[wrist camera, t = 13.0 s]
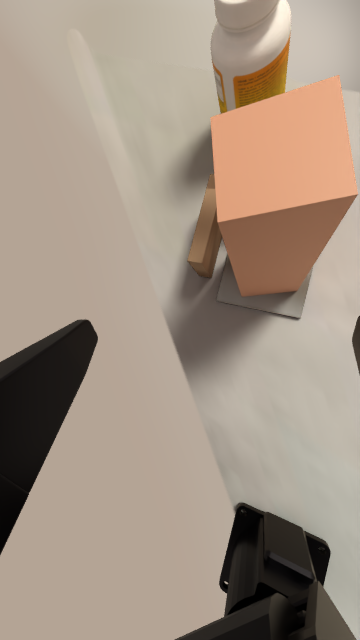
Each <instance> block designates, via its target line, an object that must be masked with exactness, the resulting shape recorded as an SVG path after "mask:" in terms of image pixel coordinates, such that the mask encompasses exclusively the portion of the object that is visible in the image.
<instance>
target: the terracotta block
mask: <svg viewBox="0 0 360 640" xmlns="http://www.w3.org/2000/svg"><path fill="white" fill-rule="evenodd" d="M211 132H212V146H213V161H214V176H215V190H216V205H217V220H218V225H219V228H220V231H221V234H222V237H223V240H224V244H225V247H226V250H227V253H228V256H229V259H230V262H231V265H232V268H233V271H234V275H235V278H236V281H237V284H238V287H239V290H240V293H241V296H242V297H246V296H255V295H265V294H274V293H283V292H292V291H298V289H299V287H300V286H301V284H302V283H303V281H304V279H305V278H306V276H307V275H308V273H309V271H310V270H311V268H312V267H313V265H314V263H315V262H316V260H317V259H318V257H319V255H320V254H321V252H322V251H323V249H324V247H325V246H326V244H327V243H328V241H329V239H330V238H331V236H332V235H333V233H334V232H335V230H336V228H337V227H338V225H339V224H340V222H341V220H342V219H343V217H344V216H345V214H346V212H347V211H348V209H349V208H350V206H351V204H352V203H353V201H354V200H355V198H356V196H357V195H358V192H357V186H356V179H355V173H354V166H353V160H352V154H351V147H350V141H349V135H348V128H347V122H346V115H345V109H344V103H343V96H342V90H341V84H340V78H339V75H337V76H334V77H331V78H328V79H325V80H322V81H319V82H316V83H313V84H310V85H307V86H304V87H301V88H298V89H295V90H292V91H289V92H286V93H283V94H280V95H277V96H274V97H271V98H268V99H264V100H261V101H258V102H255V103H252V104H249V105H246V106H243V107H240V108H237V109H234V110H231V111H228V112H225V113H222V114H219V115H216V116H213V117H211Z"/></svg>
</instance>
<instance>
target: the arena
mask: <svg viewBox="0 0 360 640" xmlns="http://www.w3.org/2000/svg"><path fill="white" fill-rule="evenodd" d="M221 239H222V234H221V231H220V228H219V225H218V220H217V205H216V190H215V176H214V174H210V177H209V181H208V184H207V188H206V192H205V196H204V200H203V203H202V207H201V211H200V215H199V219H198V222H197V226H196V230H195V234H194V238H193V241H192V245H191V249H190V253H189V257H188V260H187V261H188V262H189V264H190V265H191V266H192V267H193V269H194V270H195V271H196V272H197V274H198V275H199V276H203V277H209V278H212V274H213V270H214V266H215V262H216V258H217V255H218V251H219V247H220V243H221ZM312 269H313V267H312V268H311V270H310V271H309V273H308V275H307V276H306V278H305V279H304V281H303V283H302V284H301V286H300V287H299V289H298V291H292V292H283V293H274V294H265V295H255V296H246V297H242V296H241V293H240V290H239V287H238V284H237V281H236V278H235V275H234V271H233V268H232V265H231V262H230V259H229V256H227V260H226V264H225V268H224V271H223V275H222V279H221V283H220V287H219V291H218V295H217V299H216V301H219V302H224V303H228V304H233V305H238V306H243V307H248V308H252V309H257V310H262V311H267V312H272V313H276V314H281V315H286V316H291V317H296V318H301V315H302V310H303V306H304V302H305V298H306V294H307V290H308V285H309V281H310V277H311V273H312Z"/></svg>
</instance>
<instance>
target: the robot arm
mask: <svg viewBox="0 0 360 640" xmlns="http://www.w3.org/2000/svg"><path fill="white" fill-rule="evenodd" d="M97 341H98V336H97V334H96V332H95V330H94V328H93V326H92V324H91V322H90V321H89V320H77V321H75V322H73V323H71V324H69V325H67V326H66V327H64V328H62V329H60V330H58V331H57V332H55V333H53V334H51V335H49V336H47V337H46V338H44V339H42V340H40V341H38V342H36V343H34V344H32V345H31V346H29V347H27V348H25V349H23V350H22V351H20V352H18V353H16V354H14V355H13V356H11V357H9V358H7V359H5V360H3V361H1V362H0V555H1V552H2V550H3V548H4V546H5V544H6V542H7V539H8V538H9V536H10V533H11V531H12V529H13V527H14V525H15V523H16V520H17V519H18V517H19V514H20V512H21V510H22V508H23V506H24V504H25V502H26V500H27V497H28V495H29V492H30V491H31V489H32V486H33V484H34V482H35V480H36V478H37V476H38V474H39V472H40V470H41V467H42V465H43V463H44V461H45V459H46V457H47V455H48V453H49V451H50V448H51V446H52V444H53V442H54V440H55V438H56V435H57V434H58V432H59V429H60V427H61V425H62V423H63V421H64V419H65V417H66V415H67V413H68V410H69V408H70V406H71V404H72V402H73V400H74V398H75V396H76V394H77V391H78V389H79V387H80V385H81V383H82V381H83V379H84V376H85V374H86V372H87V369H88V366H89V363H90V361H91V358H92V355H93V352H94V349H95V347H96V344H97ZM352 344H353V348H354V353H355V357H356V361H357V365H358V370H359V374H360V316H359V317H358V319H357V322H356V326H355V329H354V333H353V337H352ZM242 509H244V510H245V511H246V513H242V512H241V510H242ZM319 547H324V548H325V549H324V550H323V551H322V550H319V549H318V548H319ZM329 559H330V549H329V546H328V544H327V543H326V541H324V540H323V539H321V538H318V537H316V536H314V535H312V534H310V533H308V532H306V531H303V529H302V528H301V527H300V526H297V525H295V524H293V523H291V522H289V521H287V520H285V519H282V518H280V517H278V516H276V515H274V514H272V513H269V512H263V511H261V510H258V509H256V508H254V507H252V506H250V505H248V504H246V503H240V504H238V506H237V510H236V514H235V518H234V523H233V527H232V531H231V535H230V539H229V543H228V548H227V551H226V556H225V560H224V564H223V568H222V572H221V576H220V581H219V585H220V588H221V589H222V590H223V591H224V592H225V593H227V600H226V607H225V615H224V617H223V618H221V619H219V620H217V621H214V622H212V623H210V624H208V625H206V626H203V627H201V628H199V629H197V630H195V631H193V632H190V633H188V634H186V635H184V636H182V637H179V638H177V639H175V640H356V638H355V637H354V635H353V633H352V632H351V630H350V629H349V627H348V626H347V624H346V622H345V621H344V619H343V618H342V616H341V614H340V613H339V611H338V610H337V608H336V607H335V605H334V603H333V602H332V600H331V599H330V597H329V596H328V594H327V592H326V591H325V589H324V588H323V585H324V581H325V576H326V572H327V568H328V563H329ZM224 581H226V582H228V584H225V583H224Z"/></svg>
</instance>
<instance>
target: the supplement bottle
mask: <svg viewBox="0 0 360 640" xmlns="http://www.w3.org/2000/svg"><path fill="white" fill-rule="evenodd" d="M214 2H215V13H216V17H217V22H216V24H215V27H214V30H213V33H212V38H211V55H212V63H213V69H214V75H215V81H216V87H217V94H218V100H219V106H220V112H221V114H222V113H225V112H228V111H231V110H234V109H237V108H240V107H243V106H246V105H249V104H252V103H255V102H258V101H261V100H264V99H268V98H271V97H274V96H277V95H280V94H283V93H285V84H286V74H287V63H288V53H289V43H290V32H291V11H290V7H289V4H288V3H287V1H286V0H214Z"/></svg>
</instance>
